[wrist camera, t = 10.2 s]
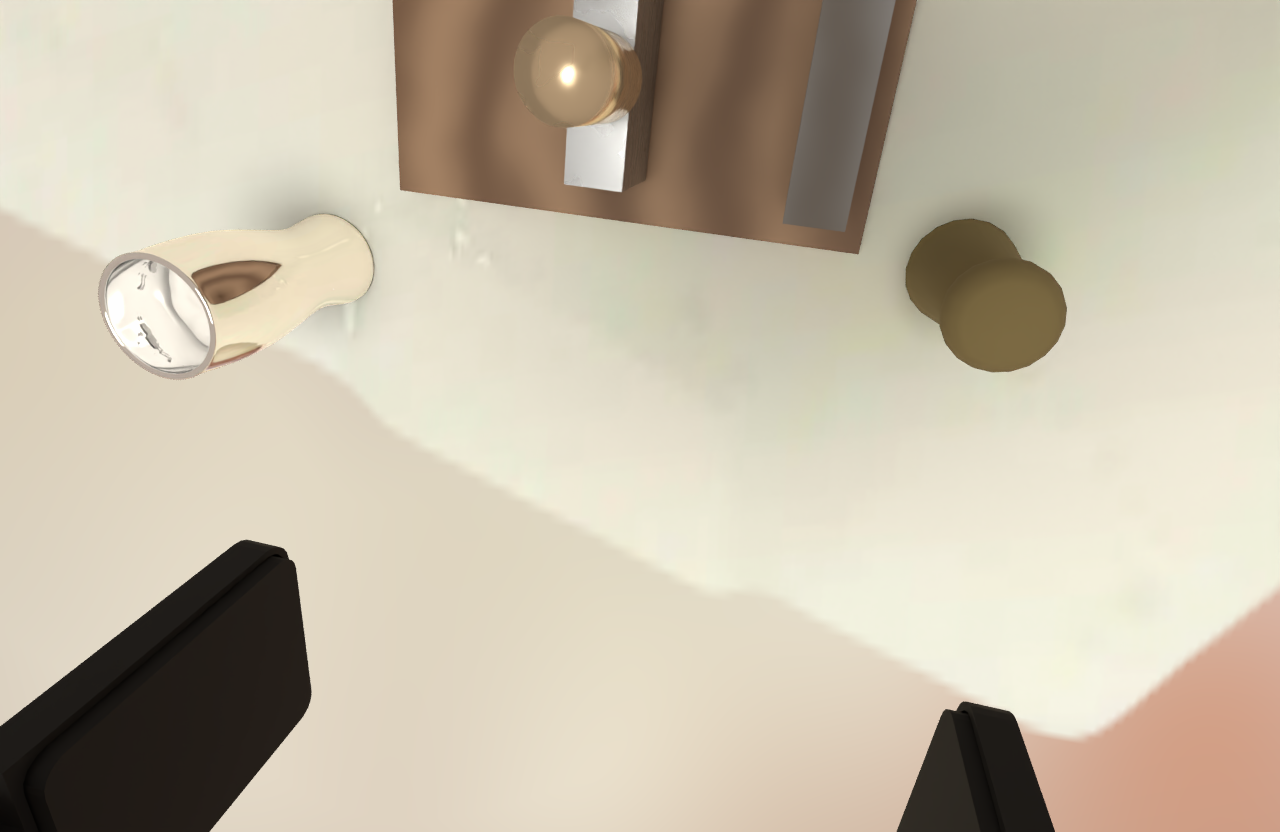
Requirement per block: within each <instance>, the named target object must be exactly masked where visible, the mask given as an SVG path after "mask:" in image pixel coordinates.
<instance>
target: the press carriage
mask: <svg viewBox="0 0 1280 832" xmlns="http://www.w3.org/2000/svg"><path fill="white" fill-rule="evenodd" d="M663 2H664V0H574V6H573V17H570V16H560V15H558V16H551V17H548V18H545V19H543V20H541V21H539V22H537V23H536V24H534V25H533V26H532V27H531V28H530V29H529V30H528V31H527V32H526V33H525V35H524V36H523V38H522V39H521V41H520V43H519V45H518V48H517V51H516V55H515V60H514V79H515V84H516V88H517V91H518V94H519V96H520V98H521V100H522V102H523V104H524V105H525V107H526V108H527V109H528V110H529V112H530V113H531V114H532V115H533V116H535V117H536V118H537V119H538V120H540V121H541V122H543V123H545V124H547V125H550V126H553V127H558V128H567V137H566V156H565V175H564V184H565V185H572V186H580V187H587V188H595V189H602V190H609V191H617V192H623V191H625V190H627V189H629V188H631V187H633V186H635V185H637V184H639V183H641V182H643V181H645V180H646V172H647V162H648V152H649V142H650V132H651V122H652V112H653V102H654V92H655V82H656V72H657V62H658V52H659V42H660V32H661V22H662V12H663Z"/></svg>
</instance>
